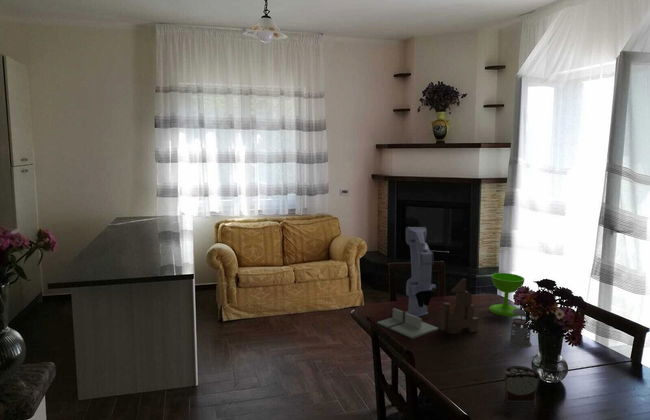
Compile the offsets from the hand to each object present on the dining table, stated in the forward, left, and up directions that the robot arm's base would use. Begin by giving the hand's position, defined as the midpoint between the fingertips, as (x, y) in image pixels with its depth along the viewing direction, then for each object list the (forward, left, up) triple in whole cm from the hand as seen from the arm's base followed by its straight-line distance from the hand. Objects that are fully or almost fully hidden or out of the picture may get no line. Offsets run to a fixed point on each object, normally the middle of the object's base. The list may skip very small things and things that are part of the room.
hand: (423, 306), depth 223 cm
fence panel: (+5, -2, -9) cm, 10 cm away
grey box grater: (-21, +37, -10) cm, 44 cm away
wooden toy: (-10, +13, -10) cm, 19 cm away
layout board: (+6, -4, -10) cm, 12 cm away
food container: (+23, +61, -10) cm, 66 cm away
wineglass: (-52, +11, -10) cm, 54 cm away
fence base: (+5, -10, -9) cm, 15 cm away
